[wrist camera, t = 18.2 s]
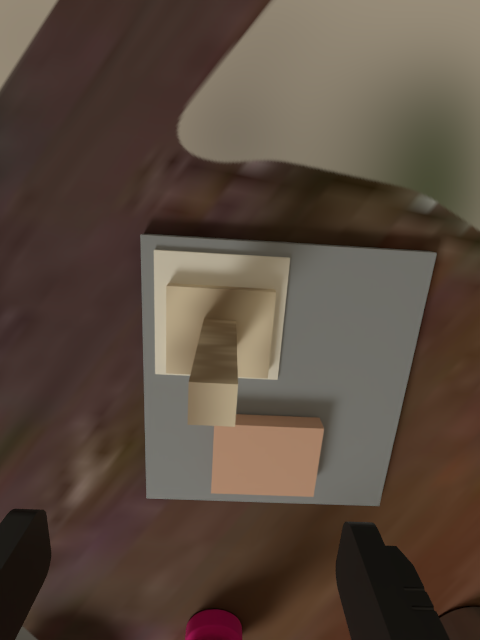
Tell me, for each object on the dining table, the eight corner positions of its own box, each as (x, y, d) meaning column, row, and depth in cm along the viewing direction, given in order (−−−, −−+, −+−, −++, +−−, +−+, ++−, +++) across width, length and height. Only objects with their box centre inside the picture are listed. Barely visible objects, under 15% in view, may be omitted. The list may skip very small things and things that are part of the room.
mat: (430, 251, 28) (437, 252, 27) (375, 497, 36) (379, 506, 35) (143, 233, 27) (140, 234, 26) (148, 490, 35) (146, 498, 34)
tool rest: (289, 257, 27) (290, 258, 27) (277, 378, 30) (277, 379, 30) (154, 249, 27) (153, 249, 26) (155, 372, 30) (155, 374, 30)
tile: (215, 412, 31) (319, 416, 31) (212, 478, 33) (309, 482, 34) (214, 424, 29) (324, 428, 30) (211, 493, 32) (313, 496, 32)
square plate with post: (274, 289, 28) (300, 343, 17) (266, 372, 30) (285, 466, 19) (168, 282, 27) (128, 334, 17) (168, 367, 29) (132, 460, 19)
